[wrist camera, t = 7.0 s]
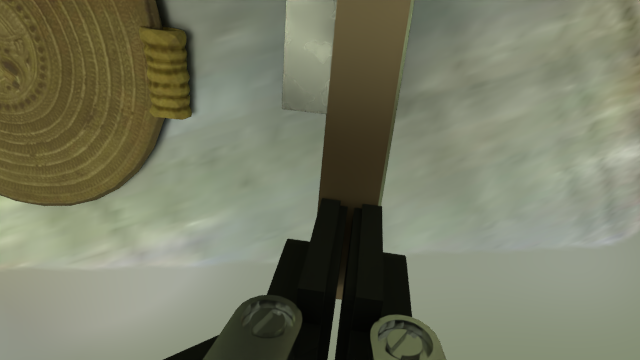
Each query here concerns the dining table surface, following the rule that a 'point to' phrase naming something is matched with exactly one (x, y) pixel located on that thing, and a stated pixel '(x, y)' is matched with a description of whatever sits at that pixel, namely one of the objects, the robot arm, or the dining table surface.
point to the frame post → (308, 54)
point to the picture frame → (362, 104)
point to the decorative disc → (84, 95)
